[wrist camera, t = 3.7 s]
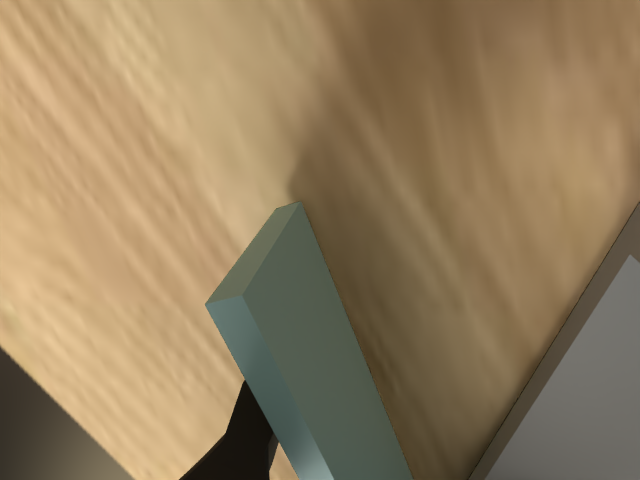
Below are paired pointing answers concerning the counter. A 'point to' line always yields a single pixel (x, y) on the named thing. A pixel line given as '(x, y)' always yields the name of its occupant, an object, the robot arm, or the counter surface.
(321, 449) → the door
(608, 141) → the counter surface
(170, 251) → the counter surface
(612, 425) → the grey open box
